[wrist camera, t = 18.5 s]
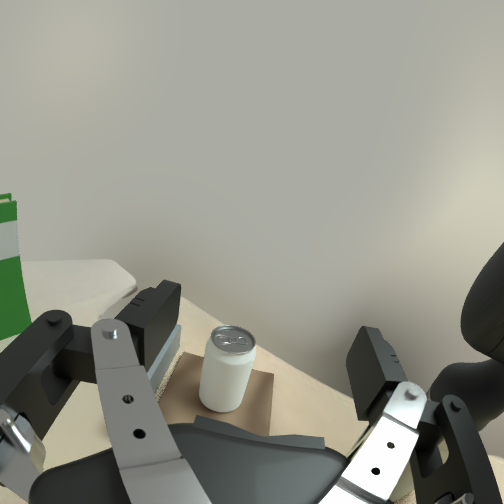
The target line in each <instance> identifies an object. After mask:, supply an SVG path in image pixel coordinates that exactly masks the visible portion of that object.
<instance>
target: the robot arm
mask: <svg viewBox="0 0 504 504" xmlns="http://www.w3.org/2000/svg"><path fill="white" fill-rule="evenodd" d="M180 294H181V284H179V283H175V282H171V281H167V280H163V281H162V282H161V283H160V284H159V285H158V286H157V288H152V287H150V288H147V289H145V290H142V291H140V292H139V293H138V295H136V296H135V298H134V299H132V301H131V302H130V303H129V304H128V305H127V306H126V307H125V308H124V309H123V310H122V311H121V312H120V313H119V314H118V315H117V316H116V317H115V318H114V319H102V320H99V321H97V322H96V323H94V324H93V326H92V327H84V326H78V325H73V323H72V318H71V316H70V315H69V314H68V313H67V312H65V311H62V310H50V311H47V312H45V313H43V314H42V315H41V316H39V317H38V318H37V319H36V320H35V321H34V322H33V323H32V324H31V325H29V326H28V327H27V328H26V329H25V330H24V331H23V332H22V333H21V334H20V335H19V336H18V337H17V338H16V339H15V340H14V341H12V342H11V343H10V344H9V345H8V346H7V347H6V348H5V349H4V350H3V351H2V352H1V353H0V485H1V486H3V487H7V488H9V489H10V490H11V491H13V492H14V493H15V494H17V495H18V496H19V497H21V498H22V499H24V500H25V501H26V502H28V503H29V504H394V503H393V502H395V501H398V500H399V499H401V498H402V497H404V496H405V495H407V494H408V493H410V492H411V491H413V490H414V489H415V495H416V502H417V504H503V503H502V499H501V495H500V492H499V488H498V485H497V482H496V479H495V476H494V473H493V470H492V467H491V464H490V461H489V458H488V456H487V453H486V450H485V448H484V445H483V443H482V440H481V438H480V436H479V432H480V431H481V430H482V429H483V428H484V427H485V426H486V425H487V424H488V423H489V422H490V421H491V420H493V419H495V418H497V417H498V416H499V415H500V414H502V413H503V412H504V242H503V244H502V245H501V246H500V247H499V248H498V250H497V251H496V252H495V253H494V255H493V256H492V257H491V259H489V261H488V262H487V263H486V265H485V266H484V267H483V269H482V270H481V272H480V274H479V275H478V276H477V278H476V280H475V282H474V283H473V285H472V287H471V289H470V291H469V293H468V295H467V297H466V300H465V303H464V306H463V309H462V314H461V332H462V335H463V337H464V339H465V341H466V342H467V343H468V344H469V345H470V346H471V347H472V348H474V349H475V350H477V351H479V352H481V353H483V354H484V355H486V356H488V357H490V358H492V359H490V360H487V361H484V362H478V363H454V364H451V365H448V366H447V367H445V368H444V369H443V370H442V371H441V373H440V374H439V375H438V377H437V378H436V379H435V381H434V382H433V384H432V386H431V387H430V388H429V390H428V391H427V393H426V394H425V392H424V391H423V390H422V388H421V387H419V386H418V385H416V384H414V383H411V382H408V380H407V378H406V375H405V373H404V371H403V369H402V366H401V364H400V363H399V360H398V358H397V357H396V356H397V355H396V353H395V351H394V349H393V348H392V346H391V345H390V344H389V343H388V342H387V341H385V340H384V339H383V337H382V335H381V333H380V331H379V329H377V328H372V327H366V326H362V327H361V328H360V330H359V332H358V334H357V336H356V338H355V340H354V342H353V344H352V347H351V349H350V350H349V352H348V355H347V359H346V367H347V371H348V375H349V380H350V385H351V389H352V394H353V398H354V403H355V408H356V412H357V417H358V420H359V421H369V425H368V426H367V427H366V429H365V430H364V431H363V433H362V434H361V436H360V437H359V438H358V440H357V441H356V443H355V444H354V445H353V447H352V448H351V449H350V451H349V452H348V453H347V455H346V456H344V455H342V454H341V453H339V452H337V451H335V450H333V449H331V448H328V447H325V444H324V437H313V436H303V435H281V436H259V435H256V434H253V433H251V432H248V431H246V430H244V429H241V428H239V427H237V426H234V425H232V424H230V423H227V422H222V421H218V420H214V419H210V418H207V417H203V416H199V415H196V417H195V420H194V423H174V424H168V425H167V424H166V421H165V419H164V417H163V414H162V412H161V409H160V407H159V405H158V402H157V400H156V397H155V395H154V392H153V389H152V387H151V384H150V381H149V379H148V376H147V373H148V371H149V369H150V368H151V366H152V364H153V363H154V361H155V359H156V358H157V356H158V354H159V353H160V351H161V349H162V348H163V346H164V344H165V343H166V341H167V339H168V338H169V336H170V335H171V333H172V331H173V330H174V328H175V326H176V323H177V320H178V315H179V305H180ZM80 381H83V382H89V383H94V384H97V385H98V390H99V395H100V400H101V405H102V409H103V414H104V418H105V422H106V426H107V430H108V434H109V438H110V441H111V445H112V448H109V449H106V450H104V451H101V452H99V453H96V454H93V455H90V456H88V457H85V458H82V459H79V460H76V461H73V462H70V463H67V464H64V465H60V466H57V467H54V468H51V469H48V470H46V471H44V472H43V463H44V460H45V456H46V451H45V447H44V445H43V443H42V440H43V438H44V437H45V435H46V433H47V432H48V430H49V429H50V427H51V425H52V424H53V422H54V421H55V419H56V417H57V416H58V414H59V413H60V411H61V410H62V408H63V407H64V405H65V404H66V402H67V401H68V399H69V398H70V396H71V395H72V393H73V392H74V390H75V389H76V387H77V386H78V384H79V383H80Z"/></svg>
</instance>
